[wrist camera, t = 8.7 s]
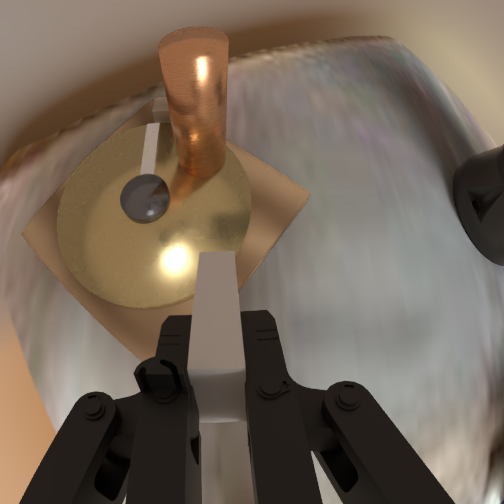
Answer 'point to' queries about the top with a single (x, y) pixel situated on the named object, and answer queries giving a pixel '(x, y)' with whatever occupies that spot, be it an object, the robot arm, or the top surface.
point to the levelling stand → (149, 321)
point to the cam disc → (160, 188)
